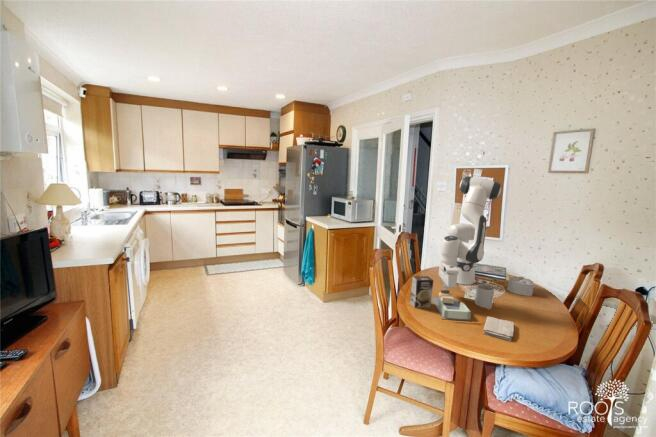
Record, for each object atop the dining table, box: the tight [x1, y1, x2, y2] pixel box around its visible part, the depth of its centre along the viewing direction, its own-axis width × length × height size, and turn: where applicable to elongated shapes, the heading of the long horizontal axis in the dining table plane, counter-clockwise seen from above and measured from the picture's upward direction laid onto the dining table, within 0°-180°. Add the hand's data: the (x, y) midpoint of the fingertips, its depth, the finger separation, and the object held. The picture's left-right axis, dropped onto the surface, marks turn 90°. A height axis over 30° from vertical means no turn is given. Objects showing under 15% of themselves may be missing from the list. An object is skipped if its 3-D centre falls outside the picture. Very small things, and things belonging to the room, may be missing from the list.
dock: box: [431, 296, 472, 323], centre depth 164 cm, size 24×14×5 cm, turn 175°
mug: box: [474, 283, 495, 310], centre depth 171 cm, size 12×8×11 cm
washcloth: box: [482, 316, 515, 342], centre depth 146 cm, size 12×18×3 cm, turn 149°
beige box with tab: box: [438, 289, 455, 305], centre depth 171 cm, size 7×6×6 cm
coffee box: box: [409, 275, 434, 309], centre depth 165 cm, size 9×6×16 cm
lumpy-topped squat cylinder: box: [507, 276, 535, 297], centre depth 192 cm, size 10×13×9 cm
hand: (445, 289), depth 173 cm, fingers closed
